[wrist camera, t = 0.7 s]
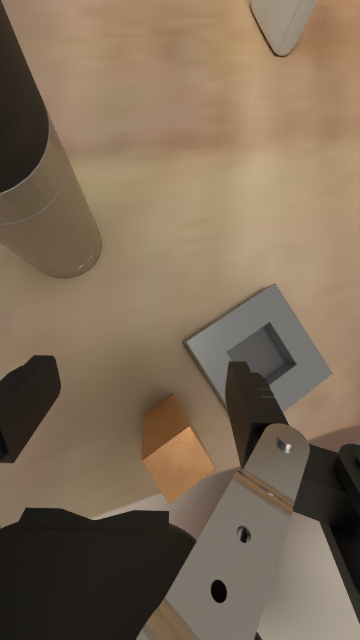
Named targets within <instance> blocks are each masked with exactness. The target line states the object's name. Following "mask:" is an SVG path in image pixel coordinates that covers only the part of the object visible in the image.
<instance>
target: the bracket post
mask: <svg viewBox="0 0 360 640" xmlns="http://www.w3.org/2000/svg"><path fill="white" fill-rule="evenodd" d="M142 463H143V464H144V466H145V468H146V469H147V471H148V472H149V474H150V475H151V477H152V478H153V480H154V482H155V483H156V485H157V486H158V488H159V489H160V491H161V492H162V494H163V496H164V497H165V499H166V500H167V502H168V503H169V504H170V503H172V502H173V501H174V500H176V499H177V498H178V497H179V496H181V495H182V494H183V493H185V491H187V490H188V489H190V488H191V487H192V486H193V485H195V484H196V483H197V482H199V481H200V480H201V479H202V478H204V477H205V476H206V475H208V474H209V473H210V472H211V471H213V470H214V469H215V466H214V464H213V462H212V460H211V458H210V457H209V455H208V453H207V451H206V449H205V447H204V446H203V444H202V442H201V440H200V438H199V436H198V434H197V433H196V431H195V429H194V427H193V425H192V423H191V422H190V420H189V418H188V417H187V415H186V414H185V412H184V410H183V409H182V407H181V406H180V404H179V403H178V401H177V399H176V398H175V396H174V395H173V394H172V395H171V396H170V397H168V398H167V399H165V400H164V401H162V402H161V403H159V404H158V405H157V406H155V407H154V408H152V409H151V410H149V411H148V412H147V413H145V414H144V415H143V438H142Z"/></svg>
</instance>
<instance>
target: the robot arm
mask: <svg viewBox="0 0 360 640" xmlns="http://www.w3.org/2000/svg"><path fill="white" fill-rule="evenodd" d="M0 243H1V244H2V245H4V246H5V247H7V248H8V249H10V250H11V251H13V252H14V253H16V254H17V255H19V256H20V257H22V258H23V259H25V260H26V261H27V262H29V263H31V264H32V265H34V266H35V267H37V268H38V269H40V270H41V271H43V272H44V273H46V274H49V275H51V276H55V277H60V278H69V277H73V276H77V275H80V274H82V273H84V272H85V271H87V270H88V269H90V268H91V267H92V266H93V265H94V263H95V262H96V260H97V259H98V257H99V254H100V251H101V236H100V233H99V230H98V228H97V226H96V223H95V221H94V218H93V216H92V213H91V211H90V209H89V206H88V204H87V202H86V199H85V197H84V195H83V192H82V190H81V188H80V185H79V183H78V181H77V178H76V176H75V174H74V171H73V169H72V167H71V164H70V162H69V160H68V157H67V155H66V153H65V150H64V148H63V146H62V144H61V142H60V139H59V137H58V135H57V132H56V130H55V128H54V125H53V123H52V121H51V118H50V116H49V114H48V111H47V109H46V107H45V105H44V102H43V100H42V97H41V95H40V93H39V91H38V88H37V86H36V84H35V81H34V79H33V77H32V74H31V72H30V70H29V67H28V65H27V62H26V60H25V58H24V55H23V53H22V50H21V48H20V45H19V43H18V40H17V38H16V35H15V33H14V31H13V28H12V26H11V23H10V21H9V18H8V16H7V14H6V11H5V9H4V6H3V4H2V2H1V0H0ZM60 389H61V382H60V377H59V373H58V368H57V364H56V360H55V357H54V356H47V355H34V356H33V357H32V358H31V359H30V360H29V361H28V362H27V363H25V364H24V365H23V366H20V367H18V368H17V369H15V370H13V371H11V372H10V373H8V374H7V375H6V376H5V377H4V378H3V379H2V380H1V381H0V463H14V462H15V460H16V459H17V457H18V456H19V454H20V453H21V451H22V450H23V448H24V447H25V445H26V444H27V442H28V441H29V439H30V438H31V436H32V435H33V433H34V432H35V430H36V429H37V427H38V426H39V424H40V423H41V421H42V420H43V418H44V417H45V415H46V414H47V412H48V411H49V409H50V408H51V406H52V405H53V403H54V402H55V400H56V399H57V397H58V396H59V393H60ZM225 400H226V405H227V409H228V413H229V418H230V422H231V426H232V431H233V435H234V439H235V443H236V448H237V452H238V456H239V461H240V465H241V469H242V471H241V472H240V471H238V472H237V473H236V474H235V476H234V477H233V479H232V481H231V482H230V484H229V486H228V488H227V489H226V491H225V493H224V495H223V497H222V498H221V500H220V502H219V503H218V505H217V507H216V509H215V510H214V512H213V514H212V516H211V517H210V519H209V521H208V523H207V524H206V526H205V528H204V530H203V531H202V533H201V535H200V537H199V539H198V540H196V539H194V538H193V537H192V536H191V535H190V534H189V533H187V532H186V531H185V530H183V529H181V528H179V527H177V526H175V525H172V524H169V511H142V510H133V511H130V512H126V513H122V514H118V515H114V516H111V517H107V518H103V519H99V520H91V519H88V518H85V517H83V516H80V515H77V514H74V513H72V512H69V511H66V510H64V509H58V508H25V510H24V512H23V514H22V516H21V518H20V520H19V522H16V523H13V524H10V525H8V526H5V527H3V528H1V527H0V640H262V639H261V637H260V636H259V634H258V632H257V628H258V625H259V621H260V618H261V615H262V611H263V608H264V605H265V601H266V598H267V595H268V592H269V588H270V585H271V582H272V578H273V575H274V572H275V568H276V565H277V562H278V559H279V555H280V551H281V549H282V545H283V542H284V539H285V535H286V532H287V528H288V525H289V522H290V519H291V515H292V512H293V511H294V512H296V513H299V514H302V515H304V516H307V517H310V518H312V519H315V520H317V521H319V522H320V524H321V527H322V529H323V532H324V534H325V537H326V539H327V542H328V544H329V547H330V550H331V552H332V555H333V557H334V560H335V562H336V565H337V567H338V570H339V572H340V575H341V578H342V580H343V583H344V585H345V588H346V590H347V593H348V595H349V598H350V600H351V603H352V605H353V608H354V611H355V613H356V616H357V618H358V621H359V623H360V445H356V444H346V445H343V446H342V447H341V449H340V450H339V452H338V453H337V452H333V451H330V450H327V449H323V448H320V447H317V446H314V445H311V444H309V443H308V441H307V439H306V438H305V437H304V436H303V435H302V434H301V433H300V432H299V431H298V430H296V429H295V428H293V427H291V426H289V424H288V422H287V420H286V418H285V416H284V414H283V412H282V410H281V408H280V406H279V404H278V402H277V400H276V398H274V394H273V392H272V391H271V388H270V386H269V384H268V382H267V380H266V379H265V378H263V377H262V376H261V375H260V374H259V373H253V372H251V371H250V368H249V366H248V364H247V362H246V361H229V363H228V370H227V378H226V385H225Z"/></svg>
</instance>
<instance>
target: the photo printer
mask: <svg viewBox="0 0 360 640" xmlns="http://www.w3.org/2000/svg"><path fill="white" fill-rule="evenodd" d="M317 1H318V0H251V4H250V5H251V9H252V11H253V13H254V16H255V18H256V20H257V22H258V24H259V26H260V28H261V30H262V31H263V33H264V35H265V37H266V39H267V41H268V43H269V44H270V46H271V48H272V49H273V51H274V52H275V53H277V55H280V56H284V55H287V54H289V53H290V52H291V50H292V48H294V47H295V45H296V43H297V41H298V40H299V38H300V35H301V33H302V31H303V29H304V27H305V25H306V23H307V21H308V19H309V17H310V15H311V13H312V11H313V9H314V7H315V5H316V3H317Z"/></svg>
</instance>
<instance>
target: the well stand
mask: <svg viewBox="0 0 360 640" xmlns="http://www.w3.org/2000/svg"><path fill="white" fill-rule="evenodd" d="M183 343H184V345H185V346H186V348H187V349H188V351H189V353H190V354H191V356H192V357H193V359H194V360H195V362H196V363H197V365H198V367H199V368H200V370H201V371H202V373H203V374H204V376H205V378H206V379H207V381H208V382H209V384H210V385H211V387H212V388H213V390H214V392H215V393H216V395H217V396H218V398H219V399H220V401H221V403H222V404H223V406H224V407H225V409H226V410H227V412H228V409H227V405H226V400H225V385H226V378H227V370H228V363H229V361H246V362H247V364H248V366H249V368H250V371H251V372H253V373H259V374H260V375H261V376H262V377H263V378H265V379H266V380H267V382H268V384H269V386H270V388H271V391H272V392H273V394H274V398H276V400H277V402H278V404H279V406H280V408H281V410H282V412H284V411H285V410H287V409H288V408H289V407H290V406H292V405H293V404H294V403H296V402H297V401H298V400H299V399H301V398H302V397H303V396H305V395H306V394H307V393H308V392H310V391H311V390H312V389H314V388H315V387H316V386H317V385H319V384H320V383H321V382H322V381H324V380H325V379H326V378H328V377H329V376H330V375H331V374H333V373H332V372H331V370H330V369H329V367H328V366H327V364H326V362H325V361H324V359H323V358H322V356H321V355H320V353H319V351H318V350H317V348H316V347H315V345H314V344H313V342H312V340H311V339H310V337H309V336H308V334H307V333H306V331H305V329H304V328H303V326H302V325H301V323H300V322H299V320H298V318H297V317H296V315H295V314H294V312H293V311H292V309H291V308H290V306H289V304H288V303H287V301H286V300H285V298H284V297H283V295H282V293H281V292H280V290H279V289H278V287H277V286H276V284H272V285H270V286H268V287H266V288H264V289H262V290H260V291H259V292H257V293H256V294H254V295H253V296H251V297H250V298H248V299H247V300H245V301H244V302H242V303H241V304H239V305H238V306H236V307H235V308H233V309H232V310H230V311H229V312H227V313H226V314H224V315H223V316H221V317H220V318H218V319H216V320H215V321H213V322H212V323H210V324H209V325H207V326H206V327H204V328H203V329H201V330H200V331H198V332H197V333H195V334H194V335H192V336H191V337H189V338H188V339H186V340H185V341H183ZM228 414H229V413H228Z"/></svg>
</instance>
